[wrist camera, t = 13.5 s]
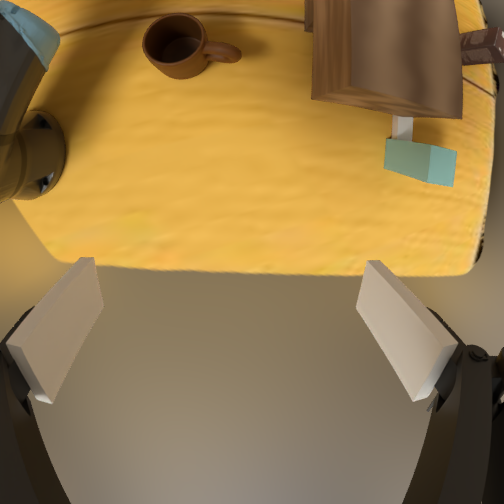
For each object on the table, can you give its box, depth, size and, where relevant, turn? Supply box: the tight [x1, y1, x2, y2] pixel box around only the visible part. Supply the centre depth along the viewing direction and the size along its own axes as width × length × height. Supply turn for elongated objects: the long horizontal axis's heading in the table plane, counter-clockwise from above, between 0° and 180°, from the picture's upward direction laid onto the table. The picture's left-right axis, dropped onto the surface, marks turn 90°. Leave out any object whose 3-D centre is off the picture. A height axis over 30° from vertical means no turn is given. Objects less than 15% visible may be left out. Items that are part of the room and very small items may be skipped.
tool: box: [384, 115, 457, 187], centre depth 33 cm, size 5×18×12 cm, turn 179°
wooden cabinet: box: [305, 0, 463, 119], centre depth 26 cm, size 15×18×18 cm
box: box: [459, 27, 504, 66], centre depth 27 cm, size 6×4×12 cm
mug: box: [142, 13, 242, 79], centre depth 30 cm, size 12×8×9 cm, turn 73°
